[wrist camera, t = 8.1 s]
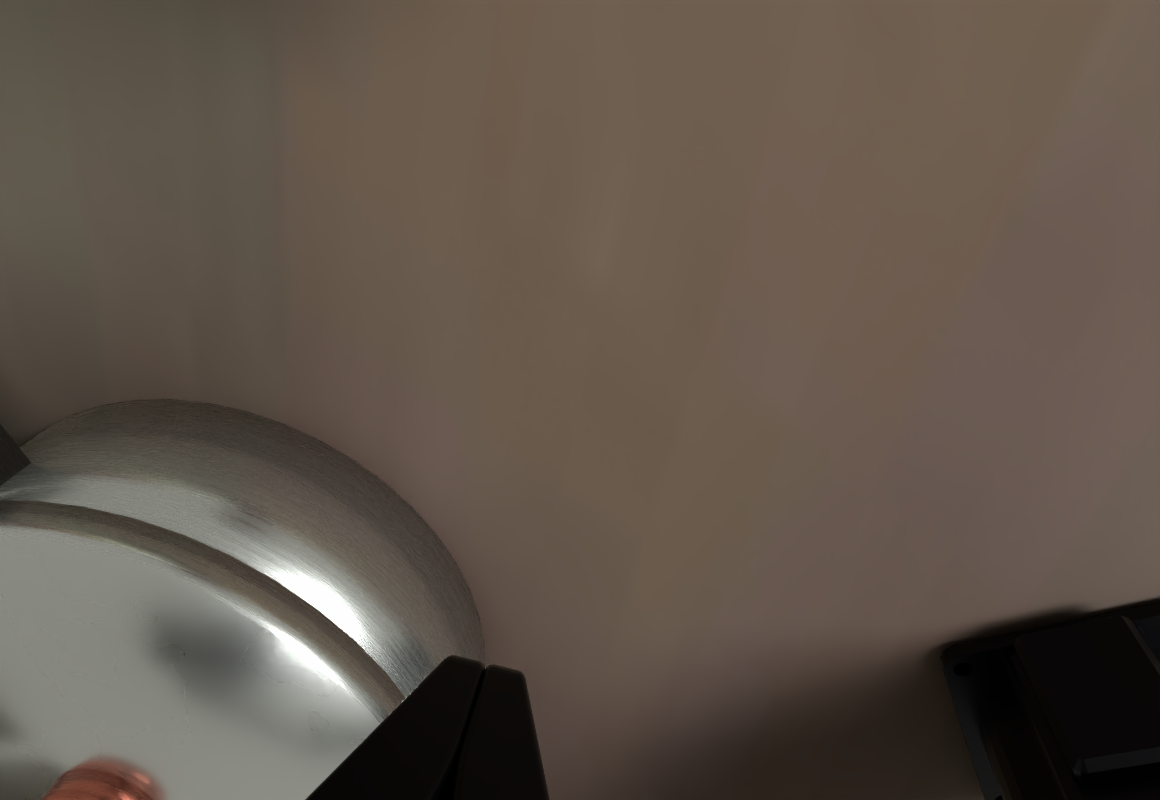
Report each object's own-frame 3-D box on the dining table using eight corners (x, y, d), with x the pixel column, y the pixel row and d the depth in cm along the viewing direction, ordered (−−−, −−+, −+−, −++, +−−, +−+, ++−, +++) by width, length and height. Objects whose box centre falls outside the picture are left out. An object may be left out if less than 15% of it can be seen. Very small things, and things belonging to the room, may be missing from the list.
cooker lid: (555, 918, 22) (541, 1018, 20) (95, 978, 27) (44, 1064, 25) (-28, 58, 13) (-163, 77, 11) (-566, 372, 18) (-733, 427, 16)
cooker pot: (568, 750, 27) (543, 904, 23) (184, 826, 32) (102, 966, 27) (155, 61, 18) (-16, 93, 14) (-291, 304, 23) (-526, 386, 18)
